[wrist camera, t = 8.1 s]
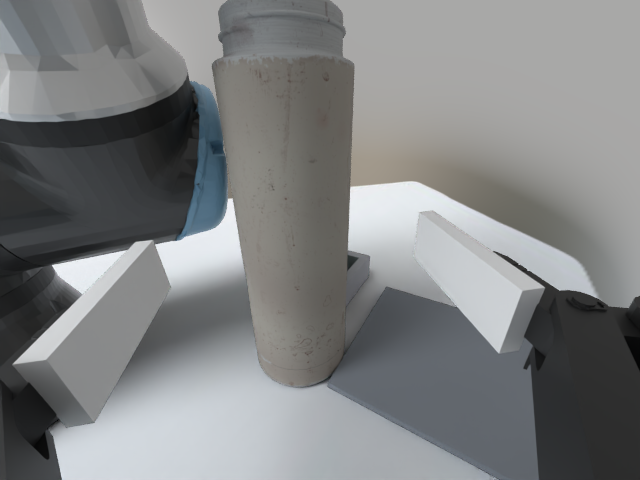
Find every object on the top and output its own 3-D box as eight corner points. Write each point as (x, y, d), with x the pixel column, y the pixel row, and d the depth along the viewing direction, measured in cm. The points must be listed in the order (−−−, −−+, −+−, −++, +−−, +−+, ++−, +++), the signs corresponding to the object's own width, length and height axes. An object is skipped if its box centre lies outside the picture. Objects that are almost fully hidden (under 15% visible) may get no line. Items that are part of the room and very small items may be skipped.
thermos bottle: (305, 308, 30) (289, -22, 18) (361, 347, 25) (393, -76, 13) (241, 348, 25) (160, -71, 13) (296, 408, 20) (247, -193, 8)
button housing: (340, 313, 29) (340, 291, 28) (282, 291, 33) (280, 271, 32) (369, 275, 35) (369, 255, 34) (317, 260, 39) (316, 242, 38)
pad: (545, 504, 15) (549, 499, 15) (328, 387, 22) (327, 382, 21) (529, 334, 25) (531, 329, 25) (386, 290, 32) (386, 286, 32)
